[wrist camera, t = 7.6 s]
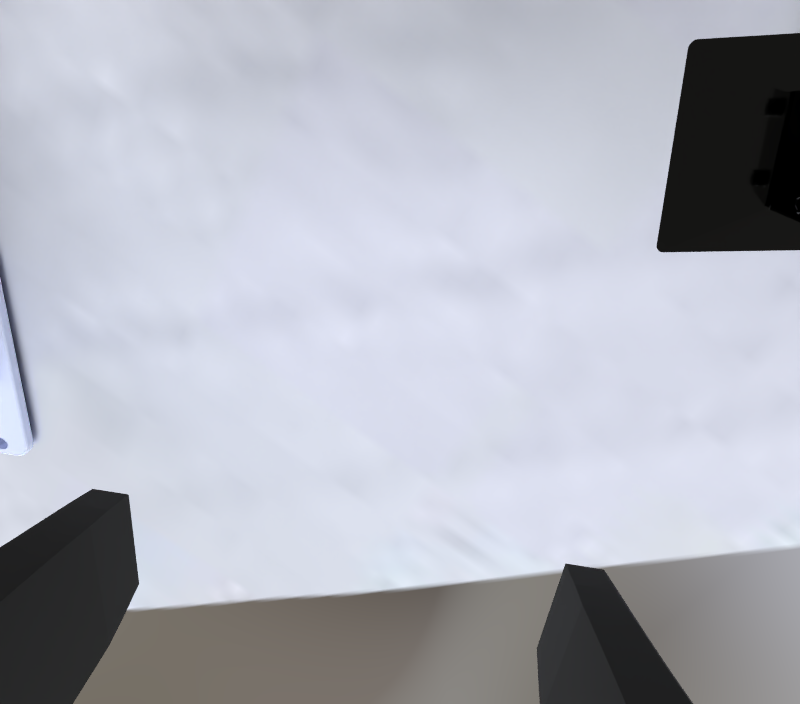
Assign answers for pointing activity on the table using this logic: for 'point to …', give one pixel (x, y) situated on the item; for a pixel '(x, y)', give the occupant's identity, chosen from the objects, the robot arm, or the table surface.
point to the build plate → (736, 148)
